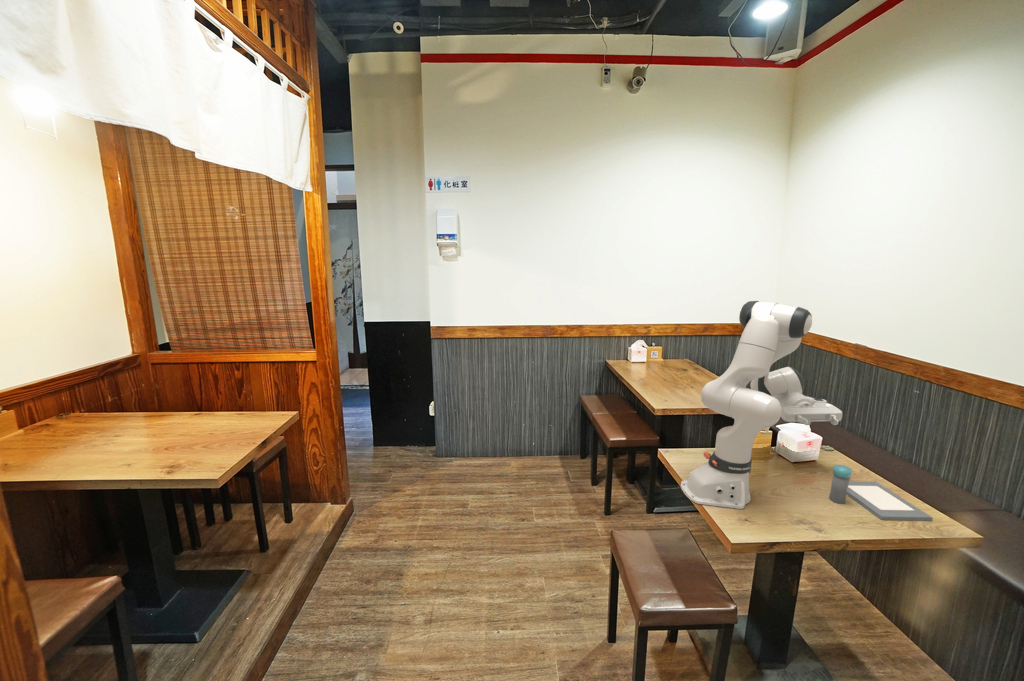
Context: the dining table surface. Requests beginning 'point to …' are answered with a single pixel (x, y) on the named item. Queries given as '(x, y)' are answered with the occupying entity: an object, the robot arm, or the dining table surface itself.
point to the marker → (840, 483)
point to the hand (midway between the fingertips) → (822, 423)
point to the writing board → (884, 502)
